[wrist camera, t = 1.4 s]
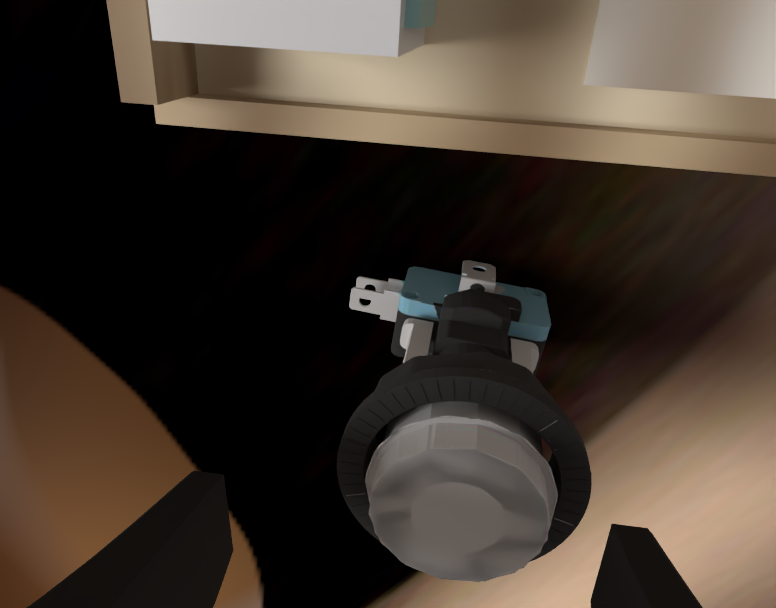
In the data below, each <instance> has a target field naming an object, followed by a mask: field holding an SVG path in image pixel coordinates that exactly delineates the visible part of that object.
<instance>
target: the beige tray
mask: <svg viewBox="0 0 776 608" xmlns="http://www.w3.org/2000/svg"><path fill="white" fill-rule="evenodd" d="M107 7H108V14H109V21H110V28H111V35H112V42H113V48H114V55H115V62H116V69H117V76H118V83H119V90H120V97H121V102H127V103H139V104H152V105H154V109H155V117H156V124H166V125H178V126H189V127H201V128H213V129H224V130H236V131H247V132H259V133H271V134H282V135H294V136H306V137H317V138H329V139H341V140H352V141H364V142H375V143H387V144H399V145H410V146H422V147H434V148H445V149H457V150H469V151H480V152H492V153H504V154H515V155H527V156H538V157H550V158H562V159H573V160H585V161H597V162H608V163H620V164H632V165H643V166H655V167H666V168H678V169H690V170H701V171H713V172H725V173H736V174H748V175H760V176H771V177H776V0H437V1H436V14H435V26H430V27H425V38H424V45H423V46H421V47H419V48H416V49H414V50H412V51H410V52H408V53H406V54H403V55H401V56H399V57H389V56H374V55H360V54H345V53H331V52H316V51H302V50H287V49H272V48H258V47H243V46H229V45H214V44H200V43H185V42H170V41H156V40H152V32H151V23H150V15H149V6H148V0H107Z"/></svg>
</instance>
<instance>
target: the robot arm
mask: <svg viewBox="0 0 776 608" xmlns="http://www.w3.org/2000/svg"><path fill="white" fill-rule="evenodd" d="M232 552H233V545H232V538H231V529H230V521H229V513H228V505H227V497H226V489H225V481H224V475H223V474H215V473H207V472H199V471H193V472H191V473H190V474H189V475H188V476H187V477H185V478H184V479H183V480H182V481H181V482H179V484H177V485H176V486H175V487H174V488H173V489H172V490H170V491H169V492H168V493H167V494H166V495H165V496H164V497H162V498H161V499H160V500H159V501H158V502H157V503H156V504H155V505H153V506H152V507H151V508H150V509H149V510H148V511H147V512H145V513H144V514H143V515H142V516H141V517H139V518H138V519H137V520H136V521H135V522H134V523H133V524H132V525H130V526H129V527H128V528H127V529H126V530H124V531H123V532H122V533H121V534H120V535H118V536H117V537H116V538H115V539H114V540H112V541H111V542H110V543H109V544H108V545H107V546H106V547H104V548H103V549H102V550H100V551H99V552H98V553H97V554H96V555H95V556H93V557H92V558H91V559H90V560H88V561H87V562H86V563H85V564H83V565H82V566H81V567H79V568H78V569H77V570H76V571H75V572H73V573H72V574H70V575H69V576H68V577H67V578H65V579H64V580H63V581H61V582H60V583H59V584H57V585H56V586H55V587H54V588H52V589H51V590H50V591H48V592H47V593H46V594H45V595H44V596H42V597H41V598H39V599H38V600H36V601H35V602H34V603H32V604H31V605H30V606H28V607H27V608H213V606H214V604H215V601H216V598H217V596H218V593H219V590H220V587H221V585H222V582H223V579H224V576H225V573H226V570H227V567H228V564H229V561H230V558H231V555H232ZM591 608H703V607H702V606H701V605H700V603H699V602H698V600H697V599H696V597H695V596H694V595H693V593H692V592H691V590H690V589H689V587H688V586H687V585H686V583H685V582H684V580H683V579H682V577H681V576H680V574H679V573H678V571H677V570H676V568H675V567H674V566H673V564H672V563H671V561H670V560H669V558H668V557H667V555H666V554H665V552H664V551H663V549H662V548H661V546H660V545H659V543H658V542H657V540H656V539H655V537H654V536H653V534H652V533H651V532H650V531H649V529H648V528H641V527H633V526H625V525H617V524H612V525H611V529H610V532H609V536H608V540H607V543H606V547H605V551H604V554H603V558H602V561H601V565H600V569H599V572H598V576H597V580H596V583H595V587H594V590H593V594H592V598H591Z"/></svg>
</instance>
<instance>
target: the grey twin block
mask: <svg viewBox="0 0 776 608" xmlns="http://www.w3.org/2000/svg"><path fill="white" fill-rule="evenodd" d="M436 1H437V0H148V6H149V15H150V23H151V32H152V40H156V41H170V42H185V43H200V44H214V45H229V46H243V47H258V48H272V49H287V50H302V51H316V52H331V53H345V54H360V55H374V56H389V57H399V56H401V55H403V54H406V53H408V52H410V51H412V50H414V49H416V48H419V47H421V46H423V45H424V38H425V27H430V26H435V14H436Z"/></svg>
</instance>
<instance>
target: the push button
mask: <svg viewBox="0 0 776 608" xmlns="http://www.w3.org/2000/svg"><path fill="white" fill-rule="evenodd" d="M474 267H477V268H482V269H484V270H485V272H479V271H476V270H474V269H472V268H474ZM495 281H496V267H494V266H492V265H490V264H485V263H480V262H475V261H470V260H467V261H463V266H462V275H457V274H452V273H447V272H442V271H437V270H432V269H426V268H421V267H410V268H409V269H408V272H407V275H406V278H405V281H402V280H397V279H392V278H389V281H388V282H387V281H382V280H377V279H372V278H367V277H362V276H359V277H358V278H357V282H356V287H354V288H352V289H351V296H350V304H349V307H350V308H351V309H354V310H359V311H364V312H369V313H374V314H379V315H381V316H380V319H384V320H388V321H393V322H396V323H395V329H394V334H393V340H392V346H391V352H392V353H393V354H394V355H396V356H399V357H404V361H403V364H401V365H400V366H398V367H397V368H395V369H393V370H392V371H390V372H389V373H387V374H385V375H384V376H383V377H382V378H381V379H380V381H379V383H378V386H377V388H376V390H375V391H374V392H373V393H372V394H371V395H370V396H369V397H367V398H366V399H365V400H364V401H363V402H362V403H361V404H360V406H359V407H358V408H357V409H356V411H355V412H354V413H353V415H352V416H351V418H350V420H349V422H348V424H347V426H346V429H345V431H344V434H343V437H342V440H341V443H340V446H339V450H338V455H337V476H338V481H339V486H340V489H341V492H342V495H343V497H344V499H345V501H346V503H347V505H348V507H349V508H350V510H351V512H352V513H353V515H354V516H355V517H356V519H357V520H358V521H359V522H360V524H361V525H362V526H363V527H364V528H365V529H366V530H367V531H368V532H369V533H370V534H372V535H373V536H374V537H375V538H376V539H378V540H379V541H380V542H381V543H382V544H383V545H384V546H386V547H387V548H388V549H389V550H390V551H391V552H392V553H393V554H394V555H395V556H396V557H397V558H398V559H399V560H400V561H401V562H403V563H405V564H406V565H408V566H410V567H413V568H415V569H417V570H420V571H422V572H425V573H427V574H430V575H432V576H435V577H437V578H440V579H448V580H461V581H474V582H480V581H487V580H490V579H493V578H496V577H500V576H504V575H508V574H512V573H515V572H516V571H517V570H519V569H521V568H524V567H525V566H526V565H527V563H528V562H530V561H533V560H535V559H537V558H539V557H541V556H543V555H545V554H547V553H548V552H550V551H551V550H553V549H555V548H556V547H557V546H558V545H560V544H561V543H562V542H563V541H564V540H565V539H566V538H567V537H568V536H569V535H570V534H571V533H572V532H573V531H574V530H575V528H576V527H577V526H578V524H579V523H580V521H581V519H582V518H583V516H584V513H585V511H586V509H587V506H588V503H589V499H590V494H591V471H590V465H589V461H588V456H587V452H586V449H585V446H584V443H583V440H582V438H581V436H580V434H579V432H578V430H577V429H576V427H575V425H574V424H573V422H572V421H571V420H570V418H569V417H568V416H567V415H566V414H565V412H564V411H563V410H562V409H561V408H560V407H559V406H558V404H557V403H556V402H555V401H554V399H553V398H552V397H551V396H550V395H549V393H548V392H547V391H546V390H545V388H544V387H543V386H542V385H541V383H540V382H539V381H538V380H537V378H536V377H535V375H536V372H537V368H538V365H539V362H540V359H541V356H542V352H543V349H544V346H545V343H546V340H547V336H548V332H549V329H550V326H551V320H550V315H549V310H548V305H547V298H546V294H545V293H544V292H542V291H540V290H537V289H533V288H528V287H525V288H523V287H518V286H513V285H508V284H503V283H498V282H495ZM367 284H371V285H373V286H374V287H375V288H376V291H372V290H367V289H364V288H365V286H366V285H367ZM359 298H363V299H368V300H371V303H370V305H367V306H364V305H362V304H361V303H360V301H359ZM387 423H388V425H387V429H386V433H385V437H384V441H383V443H381V444H380V445H379V446H378V444H377V441H376V434H377V432H378V431H379V430H380V429H381V428H382V427H383V426H384V425H385V424H387ZM541 437H542V438H543V439H544V440H545V442H546V443H547V444H548V446H549V447H550V449H551V450H552V452H553V453H552V456H551V458H550V461H549V463H547V461H546V460H545V459H544V458H543V453H542V443H541Z"/></svg>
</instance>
